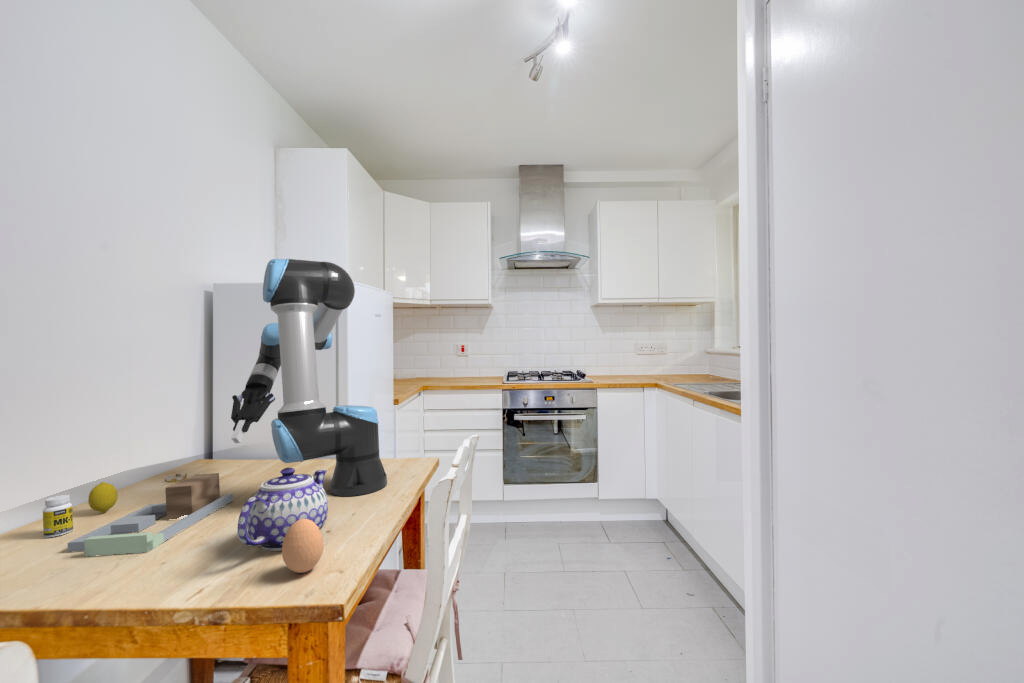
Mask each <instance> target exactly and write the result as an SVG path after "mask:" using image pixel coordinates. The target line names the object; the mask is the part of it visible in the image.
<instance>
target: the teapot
mask: <svg viewBox="0 0 1024 683" xmlns="http://www.w3.org/2000/svg"><path fill="white" fill-rule="evenodd" d="M326 472H327V469H316V471H315V472H314V473H313V475H312V474H307V473H297V474H294V473H296V469H295V468H293V467H284V468H283V469H282V470H280V472H279V473H280V474H281V476H277V477H273V478H271V479H269V480H265V481H264V482H262V483H261V484H260V488H259V489H258V491H257V492H256V493H255V494H254V495H253V496H251V497H249V498H248V499H247V500H246V502H245V503H244V504H243V506H242V508H241V510H240V513H239V516H238V521H237V536H238V538H239V540H240V541H241V542H240V543H242V544H243V545H245V546H249V547H256V546H260V547H261V548H262V549H263V550H266V551H273V552H274V551H275V552H277V551H278V552H279V551H281V552H282V546H283V541H284V538H285V535H286V533H287V531H288V530H289V528H290V527H291V525H292V524H294V523H295V522H296V521H298V520H300V519H309V520H311V521H313V522H314V523H315V524H316V525H317V526H318V527H319V529H320V530H322V528H324V525H325V523H326V521H327V519H328V512H329V501H328V496H327V493H326V492H327V491H326V490H325V489H324V478H325V475H326Z"/></svg>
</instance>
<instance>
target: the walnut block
mask: <svg viewBox="0 0 1024 683" xmlns="http://www.w3.org/2000/svg"><path fill="white" fill-rule="evenodd" d="M220 487H221V486H220V473H219V472H217V473H216V472H213V473H212V472H211V473H201V474H200V473H197V474H194V475H191V476H190V477H187V478H185V479H182V480H180V481H177V482H175V483H174V484H171V485H169V486H166V487H165V503H166V512H167V515H166V521H170V520H169V519H177V518H179V517H181V516H184V515H190V514H192V513H194V512H195V511H197V510H199V509H201V508H203V507H204V506H206V505H208V504H210V503H211V502H213V501H215V500H217V499H219V498H220V497H221V489H220Z"/></svg>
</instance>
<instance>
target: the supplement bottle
mask: <svg viewBox="0 0 1024 683" xmlns="http://www.w3.org/2000/svg"><path fill="white" fill-rule="evenodd" d="M44 505H45V508H43V510H42V523H43V524H42V527H43V529H42V530H43V531H42V532H43V537H44V538H45V539H49V538H50V537H52V538H56V537H55V536H58V537H60V536H59V535H62V536H64V535H63V534H65V535H67V534H69V532H70V533H72V532H73V531H72V530H74V515H73V513H74V510H73V504H72V503H71V495H70V494H61V495H55V496H51V497H49V498H46V499H44ZM66 533H67V534H66Z"/></svg>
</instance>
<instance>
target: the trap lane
mask: <svg viewBox="0 0 1024 683" xmlns="http://www.w3.org/2000/svg"><path fill="white" fill-rule="evenodd" d="M232 500H233V493H226V494H224V495H223V496H220V498H219V499H217V500H215V501H213V502H211V503H210V504H208V505H206V506H204V507H203V508H201V509H199V510H197V511H195V512H194V513H192V514H190V515H188V516H187V517H185V518H183V519H181V520H178V521H176V522H174V523H173V524H171V525H169V526H167V527H166V528H163V529H162V530H160V531H159V532H156V533H154V534H153V532H152V531H149V532H148V531H147V532H142V531H144V530H146V529H148V528H149V526H150V527H151V526H153V525H155V524H156V521H157V520H159V519H161V518H162V516H163V517H165V516H167V515H166V514H167V512H166V502H164V503H163V502H162V503H152V504H151V503H150V504H148V505H145V506H144V507H141V508H139V509H137V510H135V511H132V512H131V513H128V514H127V515H124V516H122V517H119V518H117V519H115V520H113V521H111V522H109V523H107V524H105V525H103V526H100V527H98V528H97V529H94V530H91V531H90V532H88V533H85V534H84V535H81V536H79V537H77V538H74V539H72V540H71V541H68V542H67V552H68V553H71V552H70V551H81V552H84V557H85V556H94V557H97V556H96V555H107V556H114V555H113V554H121V555H127V554H126V553H134V554H144V553H143V552H147V553H149V552H151V551H152V550H154V549H156V548H157V547H159V546H160V545H159V544H161V543H162V542H164V541H165V540H167V539H169V538H170V537H172V536H173V535H175V534H176V533H178V532H180V531H181V530H183V529H185V528H187V527H188V526H190V525H192V524H194V523H195V522H197V521H199V520H200V519H202V518H204V517H205V516H207V515H208V514H210V513H212V512H214V511H215V510H217V509H219V508H220V509H222V508H223V507H222V506H224V505H225V506H227V505H228V504H227V503H229V502H230V503H231V501H232ZM233 501H234V500H233ZM233 501H232V502H233ZM230 503H229V504H230ZM226 504H227V505H226ZM225 506H224V507H225ZM221 507H222V508H221ZM220 509H219V510H220ZM217 511H218V510H217ZM215 512H216V511H215ZM215 512H214V513H215ZM212 514H213V513H212ZM164 515H165V516H164ZM210 515H211V514H210ZM160 517H161V518H160ZM207 517H208V516H207ZM158 518H159V519H158ZM205 518H206V517H205ZM205 518H204V519H205ZM202 520H203V519H202ZM200 521H201V520H200ZM200 521H199V522H200ZM154 523H155V524H154ZM197 523H198V522H197ZM195 524H196V523H195ZM195 524H194V525H195ZM192 526H193V525H192ZM147 527H148V528H147ZM190 527H191V526H190ZM145 528H146V529H145ZM143 529H144V530H143ZM187 529H188V528H187ZM141 530H142V531H141ZM139 531H140V532H139ZM131 532H135V533H131ZM129 533H130V534H129ZM172 538H173V537H172ZM169 540H170V539H169ZM167 541H168V540H167ZM164 543H165V542H164ZM162 544H163V543H162ZM162 544H161V545H162ZM158 545H159V546H158ZM156 546H157V547H156ZM155 547H156V548H155ZM153 548H154V549H153ZM150 550H151V551H150ZM148 551H149V552H148Z"/></svg>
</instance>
